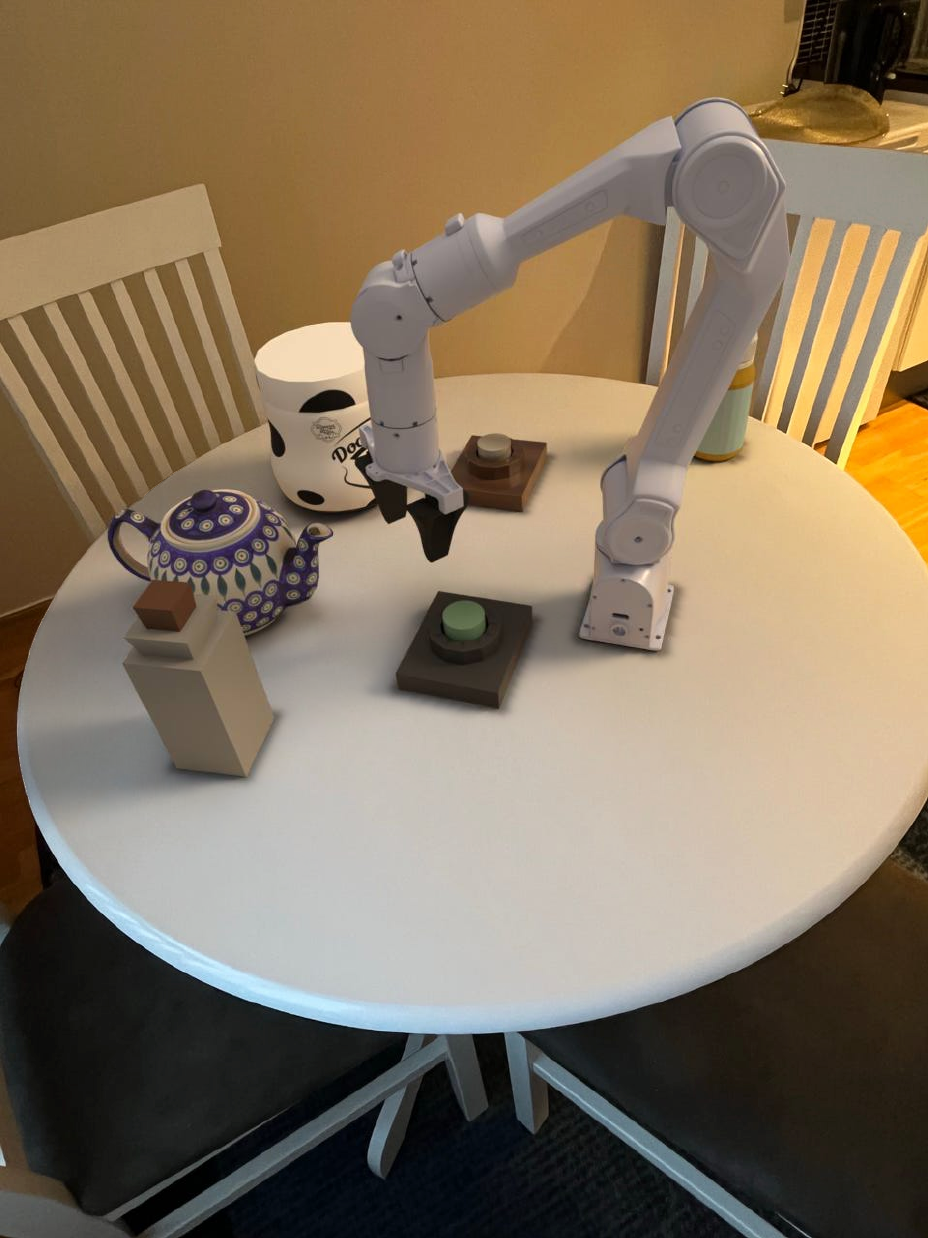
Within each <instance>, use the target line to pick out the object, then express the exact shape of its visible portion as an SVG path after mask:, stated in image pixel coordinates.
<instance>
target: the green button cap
mask: <svg viewBox="0 0 928 1238" xmlns="http://www.w3.org/2000/svg"><path fill="white" fill-rule="evenodd" d="M442 619H443V627H444V632H445V634H446V636H447V637H448V638H449V639H451V640H453V641H459V642H467V641H472V640H476V639H477V638H479V637H480V636H482V635H483V633H484V631H485V629H486V623H485V612H484V609H483V608H482V607H481V606H480V605H479V604H477V603H475V602H473V601H458V602H455V603H452V604H450V605H449V606H448V607H446V609H445V610H444V612H443V614H442Z"/></svg>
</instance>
